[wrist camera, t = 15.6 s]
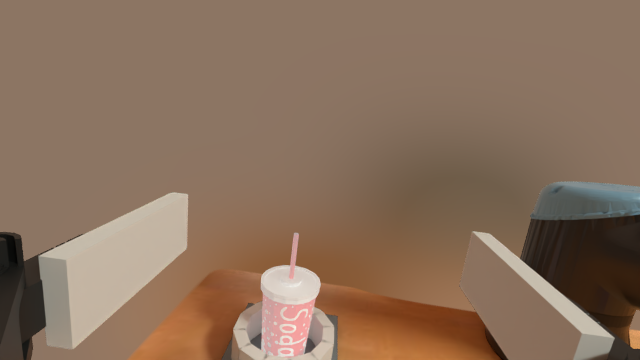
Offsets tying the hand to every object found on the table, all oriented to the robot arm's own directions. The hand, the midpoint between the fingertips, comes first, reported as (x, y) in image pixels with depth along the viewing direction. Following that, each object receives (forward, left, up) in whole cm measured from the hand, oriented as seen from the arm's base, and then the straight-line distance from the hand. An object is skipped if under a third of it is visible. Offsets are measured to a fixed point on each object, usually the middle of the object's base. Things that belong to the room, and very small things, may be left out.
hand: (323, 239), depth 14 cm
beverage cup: (+3, -16, -20) cm, 26 cm away
